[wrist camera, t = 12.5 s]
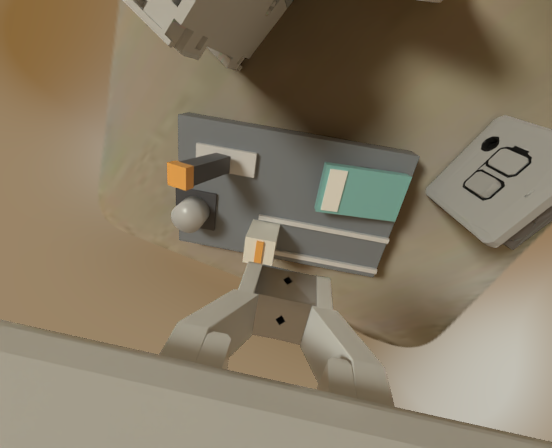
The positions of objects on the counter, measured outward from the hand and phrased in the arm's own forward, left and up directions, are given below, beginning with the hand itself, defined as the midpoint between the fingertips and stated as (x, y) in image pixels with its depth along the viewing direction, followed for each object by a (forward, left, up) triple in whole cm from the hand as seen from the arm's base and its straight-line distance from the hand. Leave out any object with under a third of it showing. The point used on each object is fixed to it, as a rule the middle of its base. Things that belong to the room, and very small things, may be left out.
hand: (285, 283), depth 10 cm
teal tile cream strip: (+1, +6, -18) cm, 19 cm away
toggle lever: (+1, -7, -18) cm, 19 cm away
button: (+7, -10, -18) cm, 22 cm away
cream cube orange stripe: (+8, -3, -19) cm, 21 cm away
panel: (+4, -1, -21) cm, 22 cm away
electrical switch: (-2, +18, -22) cm, 28 cm away
